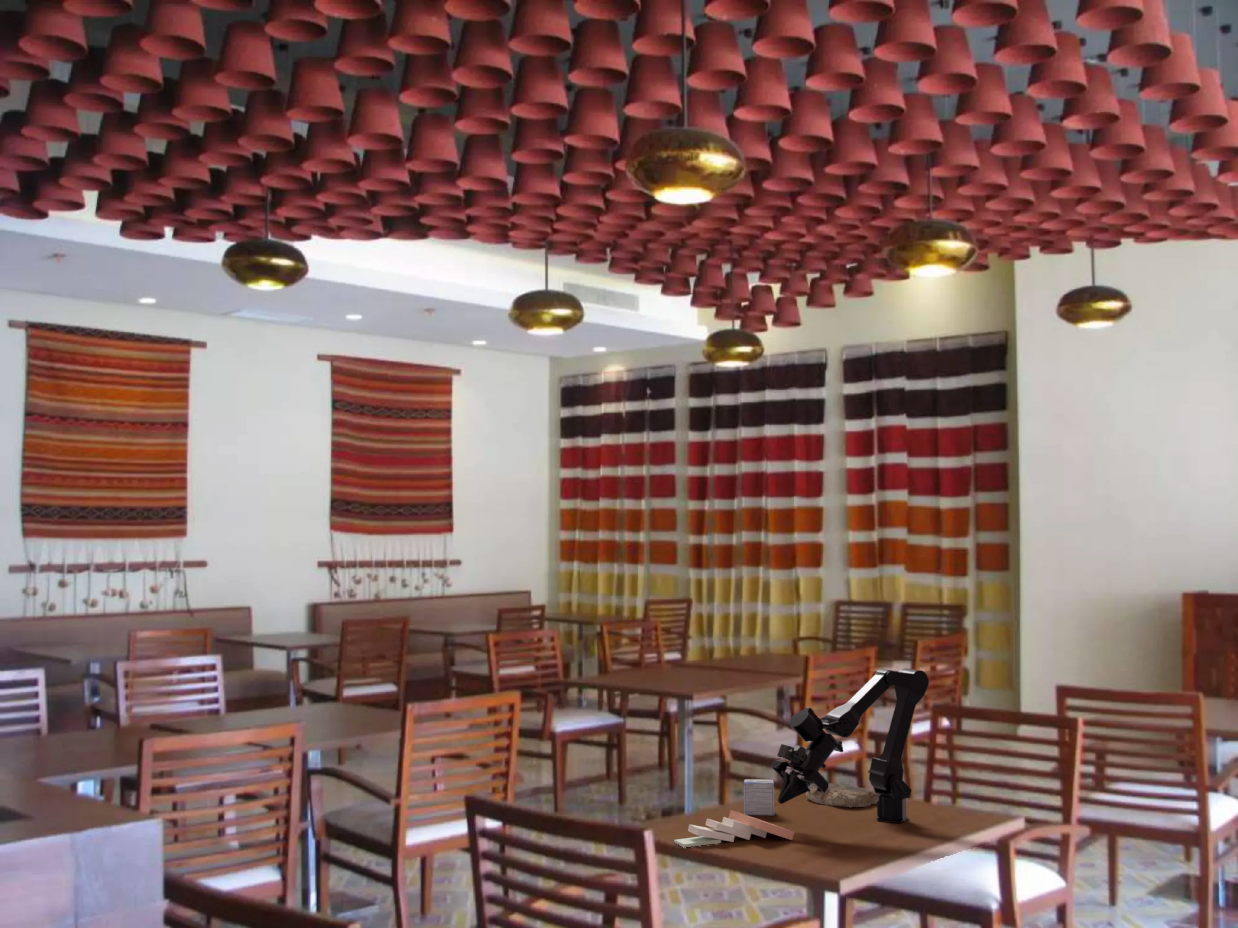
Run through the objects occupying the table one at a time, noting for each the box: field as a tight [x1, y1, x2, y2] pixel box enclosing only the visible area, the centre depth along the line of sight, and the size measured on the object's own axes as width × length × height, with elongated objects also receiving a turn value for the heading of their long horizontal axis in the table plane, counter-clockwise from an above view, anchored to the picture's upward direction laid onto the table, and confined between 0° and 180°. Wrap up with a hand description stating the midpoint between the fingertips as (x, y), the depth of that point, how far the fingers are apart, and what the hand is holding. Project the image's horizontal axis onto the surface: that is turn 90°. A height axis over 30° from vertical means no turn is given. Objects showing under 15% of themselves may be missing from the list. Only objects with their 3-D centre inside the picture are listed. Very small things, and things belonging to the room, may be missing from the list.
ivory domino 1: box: [687, 824, 736, 843], centre depth 300 cm, size 2×5×10 cm
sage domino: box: [673, 836, 722, 849], centre depth 299 cm, size 2×5×10 cm
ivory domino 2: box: [705, 817, 752, 841], centre depth 302 cm, size 2×5×10 cm
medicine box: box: [743, 778, 775, 816], centre depth 331 cm, size 8×4×9 cm, turn 84°
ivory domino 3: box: [721, 816, 768, 839], centre depth 304 cm, size 2×5×10 cm
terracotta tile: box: [727, 809, 795, 841], centre depth 306 cm, size 2×14×10 cm
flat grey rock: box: [805, 782, 880, 809], centre depth 346 cm, size 14×5×20 cm
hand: (779, 802), depth 309 cm, fingers closed
